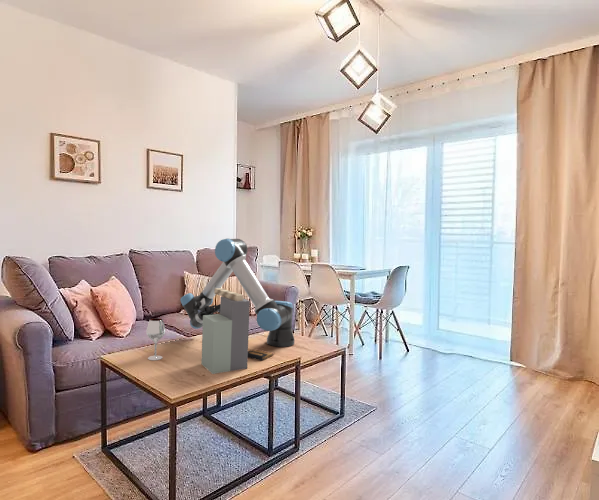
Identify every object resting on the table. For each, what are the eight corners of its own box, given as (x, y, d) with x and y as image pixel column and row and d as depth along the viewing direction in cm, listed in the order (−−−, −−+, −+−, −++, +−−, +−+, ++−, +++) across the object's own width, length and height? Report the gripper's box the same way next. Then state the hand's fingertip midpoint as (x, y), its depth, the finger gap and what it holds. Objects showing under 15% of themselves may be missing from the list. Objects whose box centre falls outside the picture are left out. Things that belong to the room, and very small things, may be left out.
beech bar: (214, 293, 192) (214, 288, 191) (220, 293, 193) (220, 288, 193) (237, 301, 174) (237, 295, 174) (243, 300, 176) (243, 294, 176)
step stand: (201, 364, 181) (203, 297, 179) (234, 359, 189) (236, 295, 188) (212, 373, 169) (214, 302, 168) (247, 368, 177) (249, 300, 176)
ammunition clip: (243, 352, 194) (258, 347, 204) (243, 356, 194) (257, 351, 204) (262, 356, 188) (275, 351, 199) (261, 360, 188) (275, 355, 199)
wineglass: (157, 354, 192) (158, 316, 191) (168, 358, 187) (169, 319, 186) (142, 358, 185) (143, 319, 184) (152, 362, 180) (153, 322, 179)
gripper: (227, 319, 219) (242, 305, 203) (181, 323, 205) (193, 309, 189) (225, 306, 222) (239, 292, 206) (180, 309, 208) (191, 294, 192)
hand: (217, 300), depth 197 cm, fingers open, 13 cm apart
